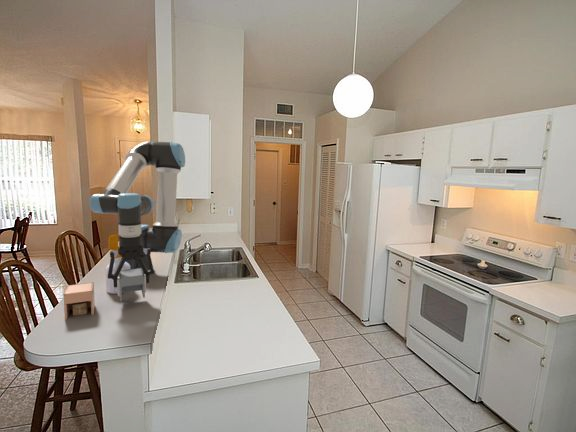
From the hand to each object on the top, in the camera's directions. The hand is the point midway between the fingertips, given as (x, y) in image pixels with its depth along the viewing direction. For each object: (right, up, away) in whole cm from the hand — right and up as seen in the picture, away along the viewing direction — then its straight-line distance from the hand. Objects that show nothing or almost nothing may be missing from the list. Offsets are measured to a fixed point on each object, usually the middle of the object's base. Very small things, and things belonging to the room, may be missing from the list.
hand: (132, 292), depth 117 cm
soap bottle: (-12, -2, +12) cm, 17 cm away
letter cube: (-14, -5, -8) cm, 17 cm away
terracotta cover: (-14, -5, -8) cm, 17 cm away
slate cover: (0, -1, 0) cm, 1 cm away
